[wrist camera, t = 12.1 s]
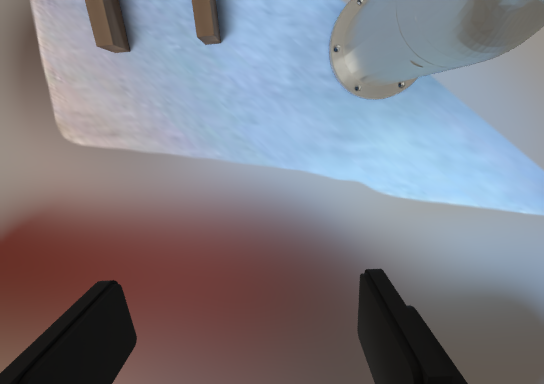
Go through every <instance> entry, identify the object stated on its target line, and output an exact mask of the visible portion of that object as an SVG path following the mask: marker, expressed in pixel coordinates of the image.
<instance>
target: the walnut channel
mask: <svg viewBox="0 0 544 384" xmlns="http://www.w3.org/2000/svg"><path fill="white" fill-rule="evenodd" d="M85 3H86V6H87V10H88V14H89V18H90V22H91V26H92V30H93V34H94V38H95V42H96V45H97V47H100V48H103V49H106V50H109V51H111V52H114V53H119V52H130V49H129V44H128V40H127V35H126V31H125V26H124V22H123V17H122V13H121V8H120V4H119V0H85ZM192 5H193V12H194V19H195V26H196V33H197V37H198V38H199V39H200V40H201V41H202V42H203V43H204V44H205V45H207V44H218V43H221V40H220V32H219V24H218V15H217V7H216V0H192Z"/></svg>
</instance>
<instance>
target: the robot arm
mask: <svg viewBox="0 0 544 384" xmlns="http://www.w3.org/2000/svg"><path fill="white" fill-rule="evenodd" d="M357 2H360V5H358V4H357ZM543 26H544V0H351V1H350V2H349V3H348V4H347V5H346V6H345V8H344V9H343V10H342V12H341V13H340V15H339V17H338V18H337V20H336V22H335V25H334V27H333V30H332V33H331V38H330V42H329V57H330V64H331V67H332V70H333V73H334V75H335V77H336V78H337V80H338V82H339V83H340V84H341V85H342V86H343V88H344V89H346V90H347V91H348V92H350V93H351V94H353V95H355V96H357V97H360V98H364V99H384V98H388V97H391V96H394V95H396V94H398V93H400V92H402V91H404V90H405V89H406V88H408V87H409V86H410V85H411V84H412V83H413V82H414V81H415V80H416V79H417V78H418V77H422V76H426V75H431V74H435V73H439V72H443V71H447V70H451V69H456V68H459V67H463V66H468V65H472V64H476V63H479V62H483V61H486V60H489V59H492V58H495V57H497V56H500V55H502V54H504V53H506V52H508V51H510V50H511V49H514V48H515V47H517V46H518V45H520V44H521V43H523V42H524V41H525V40H527V39H528V38H530V37H531V36H532V35H534V34H535V33H536V32H537V31H539V30H540V29H541V28H542V27H543ZM334 48H337V52H335V51H334ZM398 84H400V87H398ZM355 87H358V90H357V91H356V90H355ZM358 336H359V340H360V343H361V346H362V348H363V351H364V354H365V357H366V360H367V363H368V365H369V368H370V371H371V374H372V377H373V379H374V382H375V384H468V383H467V382H466V381H465V379H464V378H463V376H462V375H461V373H460V372H459V371H458V369H457V368H456V366H455V365H454V363H453V362H452V360H451V359H450V358H449V356H448V355H447V353H446V352H445V351H444V349H443V348H442V346H441V345H440V343H439V342H438V341H437V339H436V338H435V336H434V335H433V333H432V332H431V330H430V329H429V327H428V326H427V325H426V323H425V322H424V321H423V319H422V317H421V316H420V315H419V313H418V312H417V310H416V309H415V308H414V307H412V306H406V304H405V303H404V301H403V300H402V298H401V297H400V295H399V294H398V292H397V291H396V289H395V288H394V286H393V285H392V283H391V282H390V280H389V279H388V277H387V276H386V274H385V273H384V271H383V270H382V269H366V270H365V274H361V275H360V288H359V309H358ZM136 340H137V336H136V333H135V330H134V326H133V323H132V320H131V316H130V313H129V309H128V306H127V303H126V300H125V296H124V293H123V290H122V287H121V285H120V284H118V283H117V282H116V281H114V280H113V281H99V282H97V283H96V284H95V285H94V286H93V287H91V288H90V289H89V290H88V291H87V292H86V293H85V294H84V295H83V296H82V297H81V298H80V299H79V300H78V301H76V302H75V303H74V304H73V305H72V306H71V307H70V308H69V309H68V310H67V311H66V312H65V313H64V314H63V315H62V316H61V317H60V318H59V319H57V320H56V321H55V322H54V323H53V324H52V325H51V326H50V327H49V328H48V329H47V330H46V331H45V332H44V333H43V334H42V335H40V336H39V337H38V338H37V339H36V340H35V341H34V342H33V343H32V344H31V345H30V346H29V347H28V348H27V349H26V350H25V351H23V352H22V353H21V354H20V355H19V356H18V357H17V358H16V359H15V360H14V361H13V362H12V363H11V364H10V365H9V366H8V367H7V368H6V369H4V370H3V371H2V372H1V373H0V384H112V383H113V381H114V380H115V378H116V376H117V375H118V373H119V371H120V370H121V368H122V367H123V365H124V363H125V362H126V360H127V358H128V357H129V355H130V353H131V352H132V350H133V348H134V347H135V344H136Z"/></svg>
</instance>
